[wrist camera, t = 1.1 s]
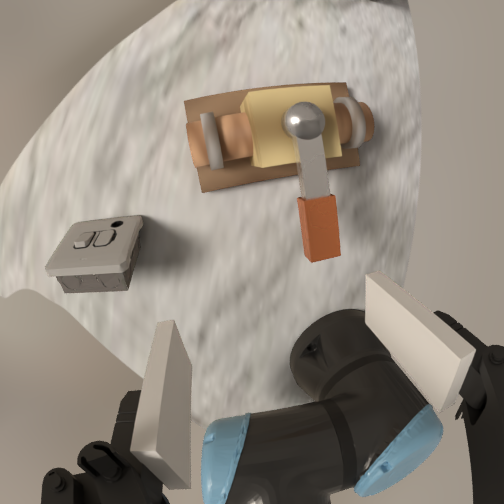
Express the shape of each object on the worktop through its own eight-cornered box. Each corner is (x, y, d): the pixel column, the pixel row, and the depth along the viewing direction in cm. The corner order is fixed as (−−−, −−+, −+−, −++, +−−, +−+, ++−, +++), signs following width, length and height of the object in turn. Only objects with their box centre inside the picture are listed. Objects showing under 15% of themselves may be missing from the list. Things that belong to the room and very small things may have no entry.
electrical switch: (143, 213, 31) (121, 245, 22) (150, 255, 33) (133, 297, 24) (74, 221, 30) (37, 253, 21) (83, 260, 32) (52, 299, 23)
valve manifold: (352, 164, 32) (394, 169, 24) (202, 190, 31) (199, 203, 22) (338, 85, 29) (377, 68, 20) (185, 104, 27) (175, 84, 19)
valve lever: (332, 247, 25) (342, 255, 23) (301, 254, 25) (309, 263, 23) (313, 103, 21) (322, 99, 19) (277, 107, 20) (284, 102, 18)
